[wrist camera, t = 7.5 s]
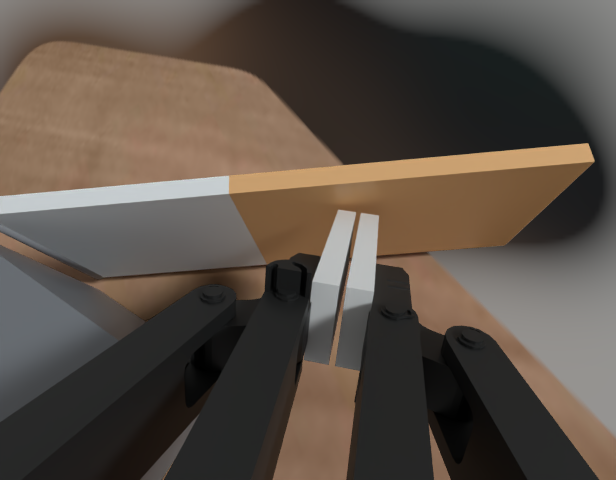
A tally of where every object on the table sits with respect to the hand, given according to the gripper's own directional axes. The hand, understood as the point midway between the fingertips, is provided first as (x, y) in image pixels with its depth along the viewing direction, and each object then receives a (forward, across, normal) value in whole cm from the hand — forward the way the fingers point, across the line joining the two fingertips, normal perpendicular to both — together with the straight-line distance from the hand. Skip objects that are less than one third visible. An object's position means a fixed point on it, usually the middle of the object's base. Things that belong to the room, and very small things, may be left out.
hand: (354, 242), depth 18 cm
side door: (+5, -4, -4) cm, 7 cm away
